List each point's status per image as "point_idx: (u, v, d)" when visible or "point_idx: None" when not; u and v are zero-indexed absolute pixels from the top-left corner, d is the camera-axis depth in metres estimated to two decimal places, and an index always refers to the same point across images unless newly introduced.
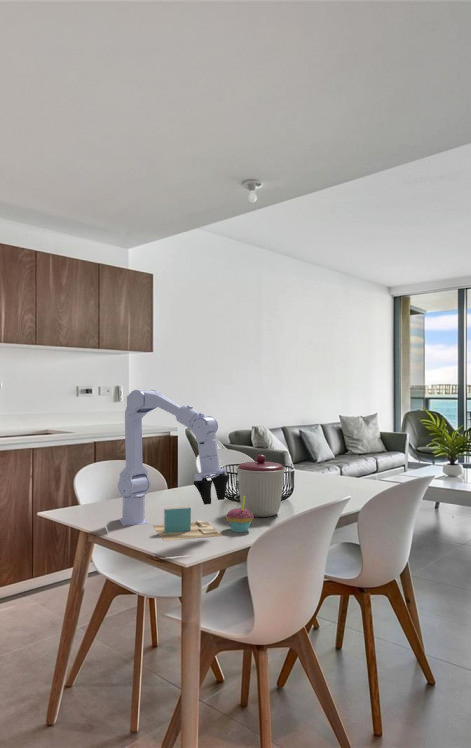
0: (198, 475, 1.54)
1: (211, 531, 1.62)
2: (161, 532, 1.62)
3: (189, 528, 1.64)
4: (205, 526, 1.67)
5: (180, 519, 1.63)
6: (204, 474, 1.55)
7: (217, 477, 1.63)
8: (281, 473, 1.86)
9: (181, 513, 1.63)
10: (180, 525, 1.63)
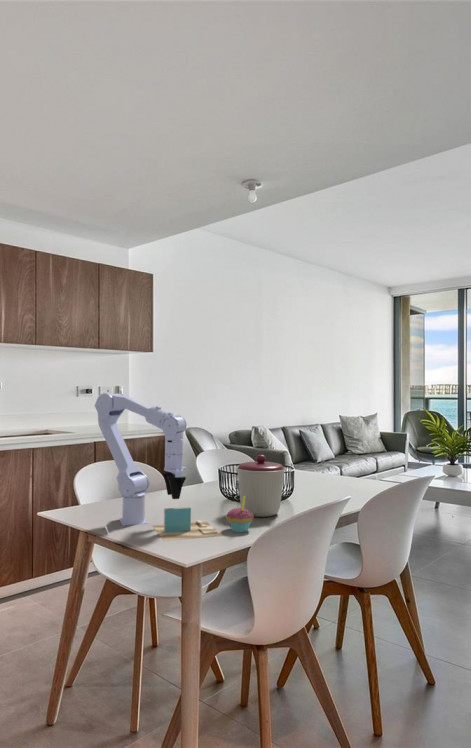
0: (180, 472, 1.63)
1: (211, 531, 1.62)
2: (161, 532, 1.62)
3: (189, 528, 1.64)
4: (205, 526, 1.67)
5: (180, 519, 1.63)
6: (181, 471, 1.65)
7: (170, 473, 1.73)
8: (281, 473, 1.86)
9: (181, 513, 1.63)
10: (180, 525, 1.63)
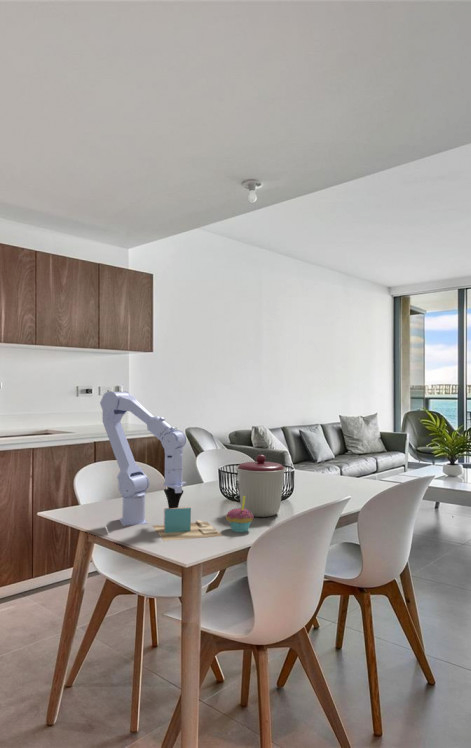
0: (180, 488, 1.63)
1: (211, 531, 1.62)
2: (161, 532, 1.62)
3: (189, 528, 1.64)
4: (205, 526, 1.67)
5: (180, 519, 1.63)
6: (181, 486, 1.65)
7: None
8: (281, 473, 1.86)
9: (181, 513, 1.63)
10: (180, 525, 1.63)
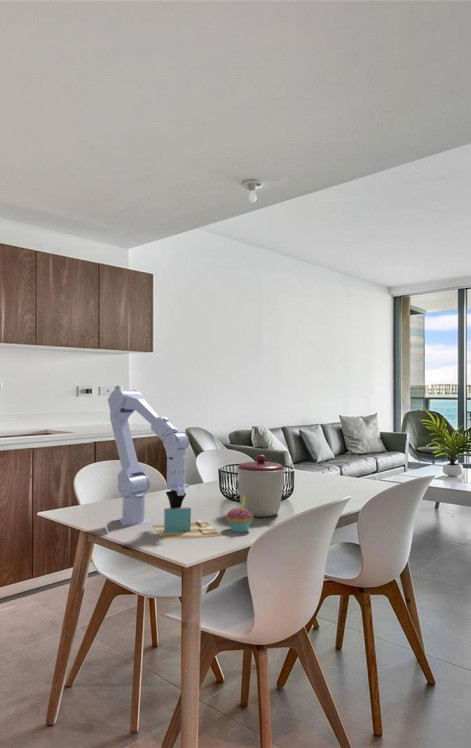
0: (182, 490, 1.60)
1: (211, 531, 1.62)
2: (161, 532, 1.62)
3: (189, 528, 1.64)
4: (205, 526, 1.67)
5: (180, 519, 1.63)
6: None
7: None
8: (281, 473, 1.86)
9: (181, 513, 1.63)
10: (180, 525, 1.63)
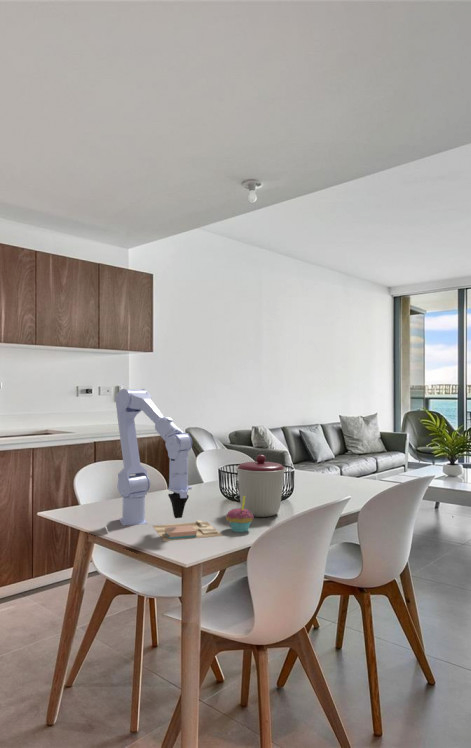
0: (185, 492, 1.56)
1: (211, 531, 1.62)
2: (161, 532, 1.62)
3: None
4: (205, 526, 1.67)
5: None
6: (186, 491, 1.58)
7: None
8: (281, 473, 1.86)
9: None
10: None
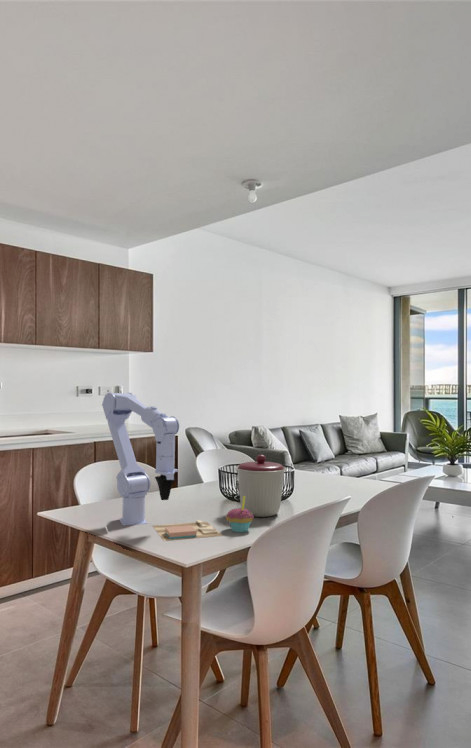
0: (172, 474, 1.59)
1: (211, 531, 1.62)
2: (161, 532, 1.62)
3: None
4: (205, 526, 1.67)
5: None
6: None
7: None
8: (281, 473, 1.86)
9: None
10: None
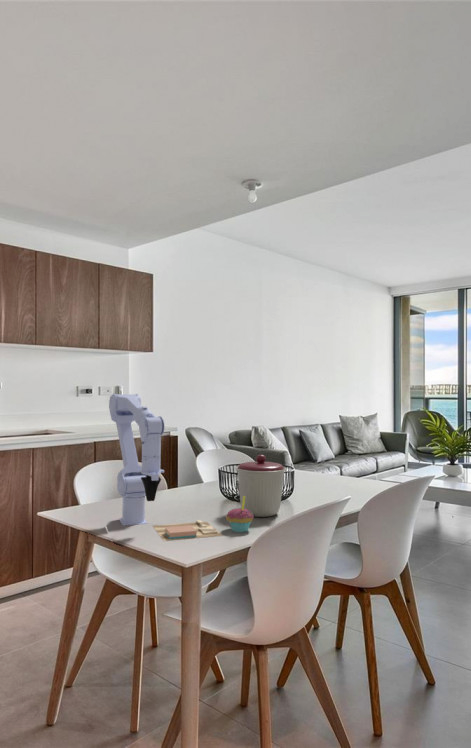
0: (157, 475, 1.57)
1: (211, 531, 1.62)
2: (161, 532, 1.62)
3: None
4: (205, 526, 1.67)
5: None
6: (158, 474, 1.59)
7: None
8: (281, 473, 1.86)
9: None
10: None
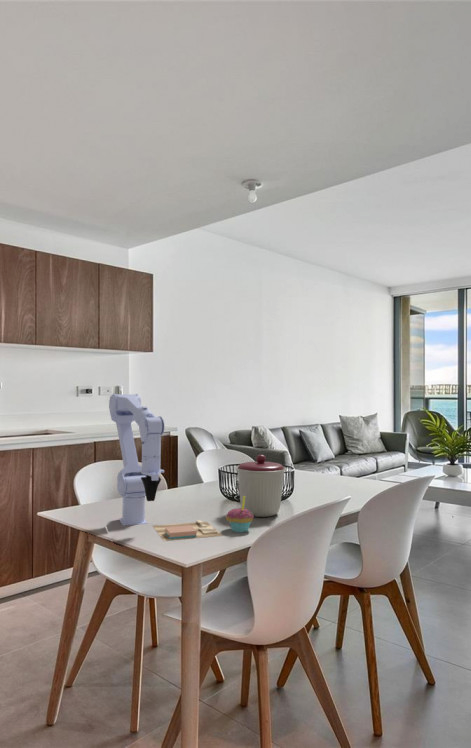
0: (157, 475, 1.57)
1: (211, 531, 1.62)
2: (161, 532, 1.62)
3: None
4: (205, 526, 1.67)
5: None
6: (158, 474, 1.59)
7: None
8: (281, 473, 1.86)
9: None
10: None
